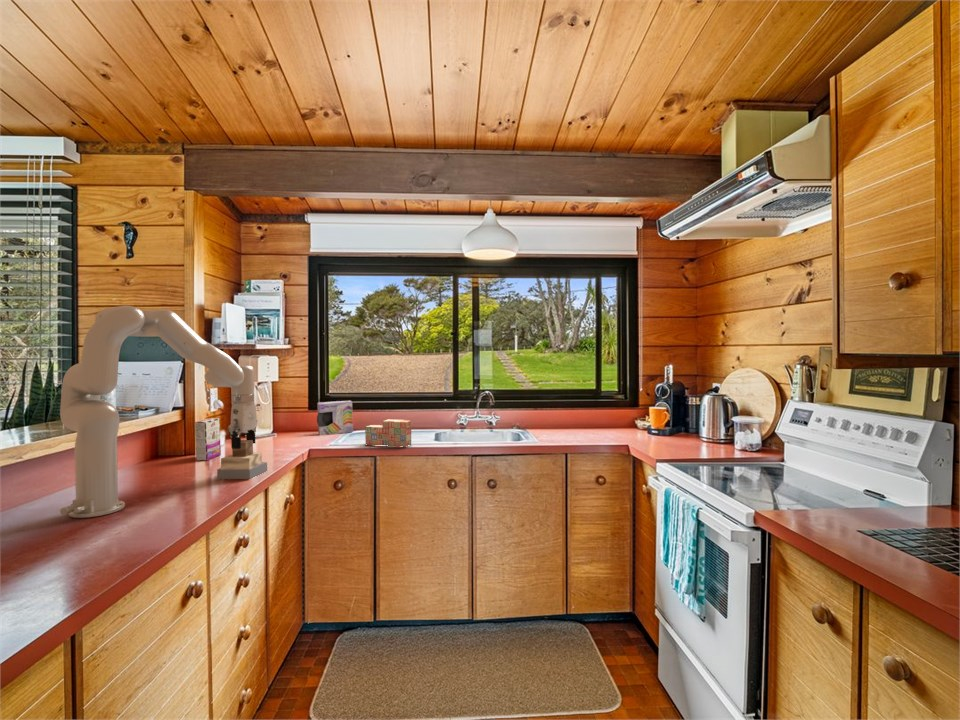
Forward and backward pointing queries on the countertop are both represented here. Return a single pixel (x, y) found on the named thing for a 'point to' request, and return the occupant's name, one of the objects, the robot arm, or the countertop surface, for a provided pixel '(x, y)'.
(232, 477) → the slate base block
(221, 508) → the countertop surface
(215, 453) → the candy bar box
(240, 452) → the walnut cube
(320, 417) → the cake pan box
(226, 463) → the pale birch block
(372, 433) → the stack of blocks
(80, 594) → the countertop surface
